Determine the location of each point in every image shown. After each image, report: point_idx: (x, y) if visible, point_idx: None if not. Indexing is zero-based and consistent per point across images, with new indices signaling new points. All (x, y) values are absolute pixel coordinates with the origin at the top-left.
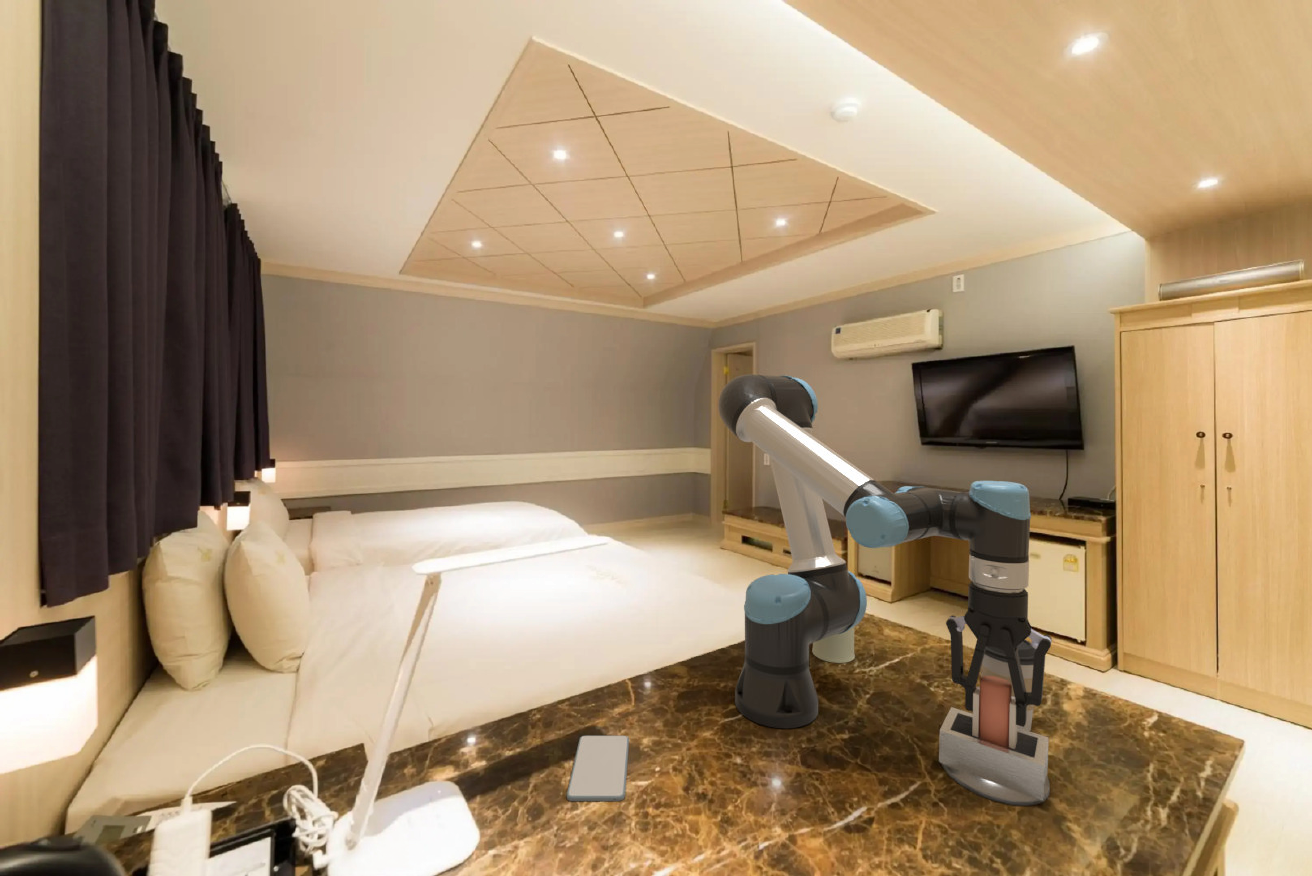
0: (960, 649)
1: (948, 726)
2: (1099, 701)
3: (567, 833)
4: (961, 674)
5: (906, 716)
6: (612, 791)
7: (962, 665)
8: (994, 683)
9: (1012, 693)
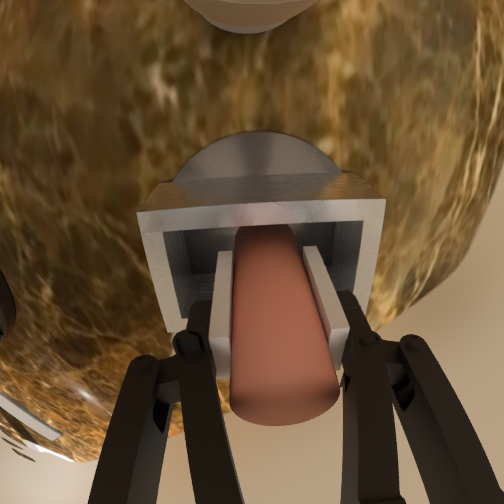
0: (151, 501)
1: (173, 308)
2: None
3: (77, 450)
4: (160, 392)
5: (61, 147)
6: (55, 434)
7: (152, 413)
8: (282, 408)
9: (283, 14)
